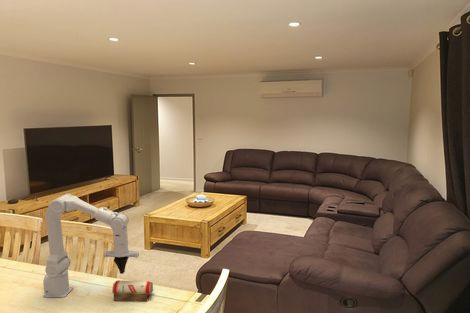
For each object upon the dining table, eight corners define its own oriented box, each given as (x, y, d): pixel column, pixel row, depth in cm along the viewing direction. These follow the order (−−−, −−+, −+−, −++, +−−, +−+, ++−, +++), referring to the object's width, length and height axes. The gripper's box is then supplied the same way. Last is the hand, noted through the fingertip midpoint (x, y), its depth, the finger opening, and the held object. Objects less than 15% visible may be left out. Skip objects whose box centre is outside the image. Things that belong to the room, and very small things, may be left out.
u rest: (113, 301, 150) (113, 293, 149) (121, 289, 159) (121, 281, 159) (147, 301, 149) (146, 293, 149) (152, 289, 159) (152, 282, 158)
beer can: (112, 298, 151) (149, 299, 150) (111, 285, 149) (148, 286, 149) (117, 290, 157) (153, 291, 156) (116, 277, 156) (152, 278, 155)
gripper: (140, 239, 154) (141, 268, 157) (107, 238, 155) (109, 268, 157) (135, 245, 147) (137, 276, 150) (100, 245, 148) (102, 275, 150)
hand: (122, 272), depth 153 cm, fingers closed
